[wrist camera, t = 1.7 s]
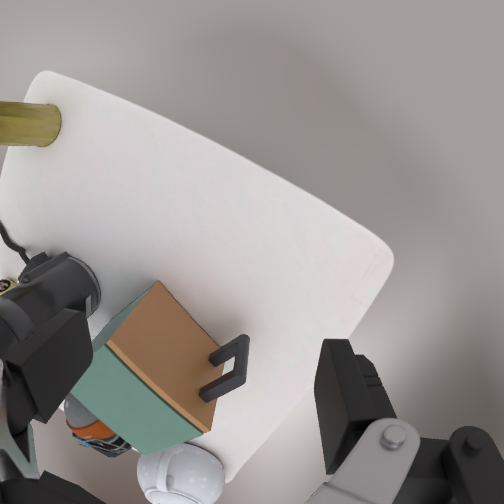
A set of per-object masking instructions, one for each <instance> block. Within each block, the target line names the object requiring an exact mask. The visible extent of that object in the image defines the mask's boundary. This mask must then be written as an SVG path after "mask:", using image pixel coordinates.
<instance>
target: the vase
mask: <svg viewBox="0 0 504 504" xmlns="http://www.w3.org/2000/svg"><path fill="white" fill-rule="evenodd" d="M60 125H61V117H60V113H59V111H58V109H57V108H56V107H55V106H54V105H50V104H31V103H20V102H2V101H0V145H8V146H39V147H45V146H48V145H49V144H51V143H52V142H53V141H54V140H55V138H56V137H57V135H58V133H59V130H60Z"/></svg>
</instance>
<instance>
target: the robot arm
mask: <svg viewBox="0 0 504 504" xmlns="http://www.w3.org/2000/svg"><path fill="white" fill-rule="evenodd" d="M0 234H1V236H2V238H3V240H4V242H5V244H6V245H7V246H8V247H9V248H11V249H12V250H14V251H16V252H19V255H20V256H21V258H22V259H23V260H24V262H25V263H26V264H27V265H26V267H25V268H24V270H23V271H22V273H21V275H20V276H19V278H18V280H19V283H18V285H16V286H14V287H13V288H11V289H10V290H8V291H6V292H5V293H3V294H2V295H0V504H106V503H105V502H103V501H101V500H100V499H98V498H96V497H95V496H93V495H92V494H90V493H89V492H87V491H86V490H84V489H83V488H81V487H80V486H79V485H76V484H74V483H71V482H69V481H67V480H64V479H62V478H60V477H58V476H56V475H53V474H51V473H49V472H47V471H44V472H43V474H42V475H41V477H40V475H39V472H38V468H37V461H36V454H35V446H34V438H33V429H32V426H31V424H30V421H31V420H32V419H35V420H37V421H40V422H42V423H44V424H46V423H47V422H48V420H49V419H50V418H51V416H52V415H53V414H54V412H55V411H56V410H57V408H58V407H59V406H60V404H61V403H62V402H63V400H64V399H65V398H66V396H67V395H68V394H69V392H70V391H71V390H72V388H73V387H74V386H75V385H76V383H77V382H78V381H79V379H80V378H81V377H82V376H83V374H84V373H85V372H86V370H87V369H88V368H89V367H90V365H91V363H92V360H93V347H92V342H91V338H90V333H89V328H88V323H87V318H88V317H89V316H91V315H92V314H93V313H94V312H95V311H96V309H97V308H98V306H99V302H100V289H99V285H98V282H97V280H96V278H95V276H94V274H93V273H92V271H91V270H90V269H89V267H88V266H87V265H85V264H84V263H83V262H82V261H80V260H78V259H76V258H73V257H70V256H69V255H68V254H67V252H63V253H62V254H60V255H58V256H56V257H54V258H52V259H51V260H50V259H49V258H48V256H47V255H46V253H45V252H42V253H40V254H38V255H36V256H34V257H33V258H31V260H29V258H28V257H27V256H26V254H25V250H24V249H23V248H21V247H18V246H16V245H14V244H13V243H11V242H10V241H9V239H8V237H7V235H6V233H5V231H4V229H3V227H2V226H1V224H0ZM314 396H315V402H316V408H317V414H318V421H319V427H320V434H321V440H322V447H323V454H324V461H325V468H326V474H327V475H330V474H334V475H333V476H332V478H331V479H330V480H329V481H328V482H327V483H326V482H324V483H323V484H322V485H321V486H320V487H319V488H318V489H317V490H316V491H315V492H314V493H313V494H312V496H311V497H310V498H309V499H308V500H307V501H306V502H305V503H304V504H504V460H503V458H502V456H501V454H500V453H499V450H498V449H497V447H496V445H495V443H494V441H493V439H492V438H491V436H490V435H489V434H488V433H487V432H485V431H484V430H482V429H480V428H477V427H473V426H464V427H461V428H459V429H457V430H455V431H454V432H453V434H452V435H451V437H450V438H449V440H439V439H429V438H422V437H419V434H418V432H417V430H416V429H415V428H414V427H413V426H412V425H410V424H409V423H407V422H405V421H403V420H400V419H397V417H396V414H395V412H394V409H393V407H392V405H391V403H390V400H389V398H388V396H387V393H386V391H385V389H384V387H383V386H382V383H381V380H380V378H379V377H378V373H377V371H376V369H375V367H374V365H373V363H372V362H371V361H369V360H368V359H367V358H366V357H365V356H364V355H355V354H354V352H353V349H352V347H351V345H350V342H349V340H348V339H324V340H323V343H322V348H321V352H320V357H319V362H318V367H317V371H316V376H315V383H314Z"/></svg>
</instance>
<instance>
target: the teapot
mask: <svg viewBox="0 0 504 504" xmlns="http://www.w3.org/2000/svg"><path fill="white" fill-rule="evenodd" d="M137 477H138V481H139V484H140V486H141V488H142V490H143V492H144V494H145V497H146V498H147V499H148V500H149V501H150V502H151V503H153V504H213V503H214V502H215V501H216V500H217V499H218V498H219V496H220V495H221V493H222V491H223V488H224V483H225V473H224V469H223V466H222V465H221V463H220V462H219V460H218V459H217V458H216V457H214V456H213V455H212V454H210V453H209V452H207V451H205V450H203V449H201V448H199V447H196V446H193V445H190V444H187V443H181V444H178V445H175V446H172V447H170V448H167V449H164V450H161V451H158V452H155V453H152V454H149V455H146V456H145V455H144V454H141V456H140V458H139V461H138V465H137Z"/></svg>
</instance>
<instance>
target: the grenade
mask: <svg viewBox="0 0 504 504" xmlns="http://www.w3.org/2000/svg"><path fill="white" fill-rule="evenodd" d="M64 411H65V414H66V422H67V425H68V426H69V428H70V429H71V430H72V431H73V432H74V433H73V436H74V437H75V438H77V439H78V440H80V441H81V442H78V444H79V443H83V442H84V443H85V444H87V445H88V446H85V445H82V444H79V445H82V446H84V447H92V448H94V449H95V450H97V451H99V452H101V453H103V454H104V455H106V456H108V457H116V456H118V455H120V454H122V453H124V452H125V451H127V450H129V449H131V448H132V447H133V446H131V445H130V444H129V443H128V442H126V441H125V440H124V439H122V438H121V437H120V436H119V435H117V434H116V433H115V432H114V431H113V430H111V429H110V428H109V427H108V426H107V425H105V424H104V423H103V422H102V421H101V420H100V419H98V418H97V417H96V416H95V415H94V414H93V413H92V412H91V411H89V410H88V409H87V408H86V407H85V406H84V405H83V404H82V403H81V402H80V401H79V400H78V399H77V398H76V397H75V396H74V395H73V394H72V393H70V392H69V394H68V395H67V396H66V398H65V403H64ZM97 443H102V444H103V445H104V446H102V445H100V444H97Z"/></svg>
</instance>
